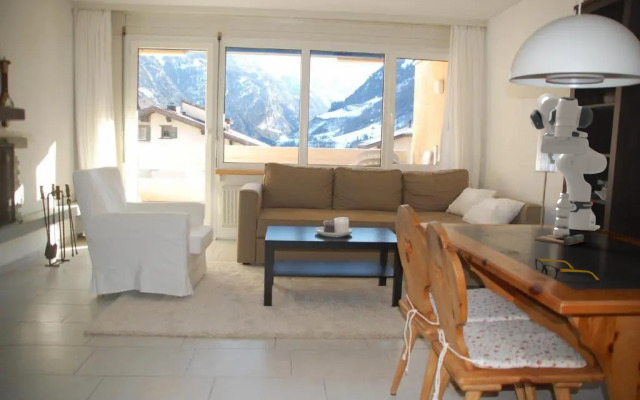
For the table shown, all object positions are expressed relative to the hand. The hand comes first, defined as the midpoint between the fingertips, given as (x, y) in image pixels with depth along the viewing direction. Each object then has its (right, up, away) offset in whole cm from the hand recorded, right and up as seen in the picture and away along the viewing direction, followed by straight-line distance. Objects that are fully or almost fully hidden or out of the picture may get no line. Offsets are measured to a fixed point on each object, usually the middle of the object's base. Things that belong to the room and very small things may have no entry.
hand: (562, 164), depth 231 cm
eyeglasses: (-32, -40, -68) cm, 85 cm away
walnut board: (-5, -34, -8) cm, 35 cm away
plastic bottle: (-5, -33, -9) cm, 35 cm away
